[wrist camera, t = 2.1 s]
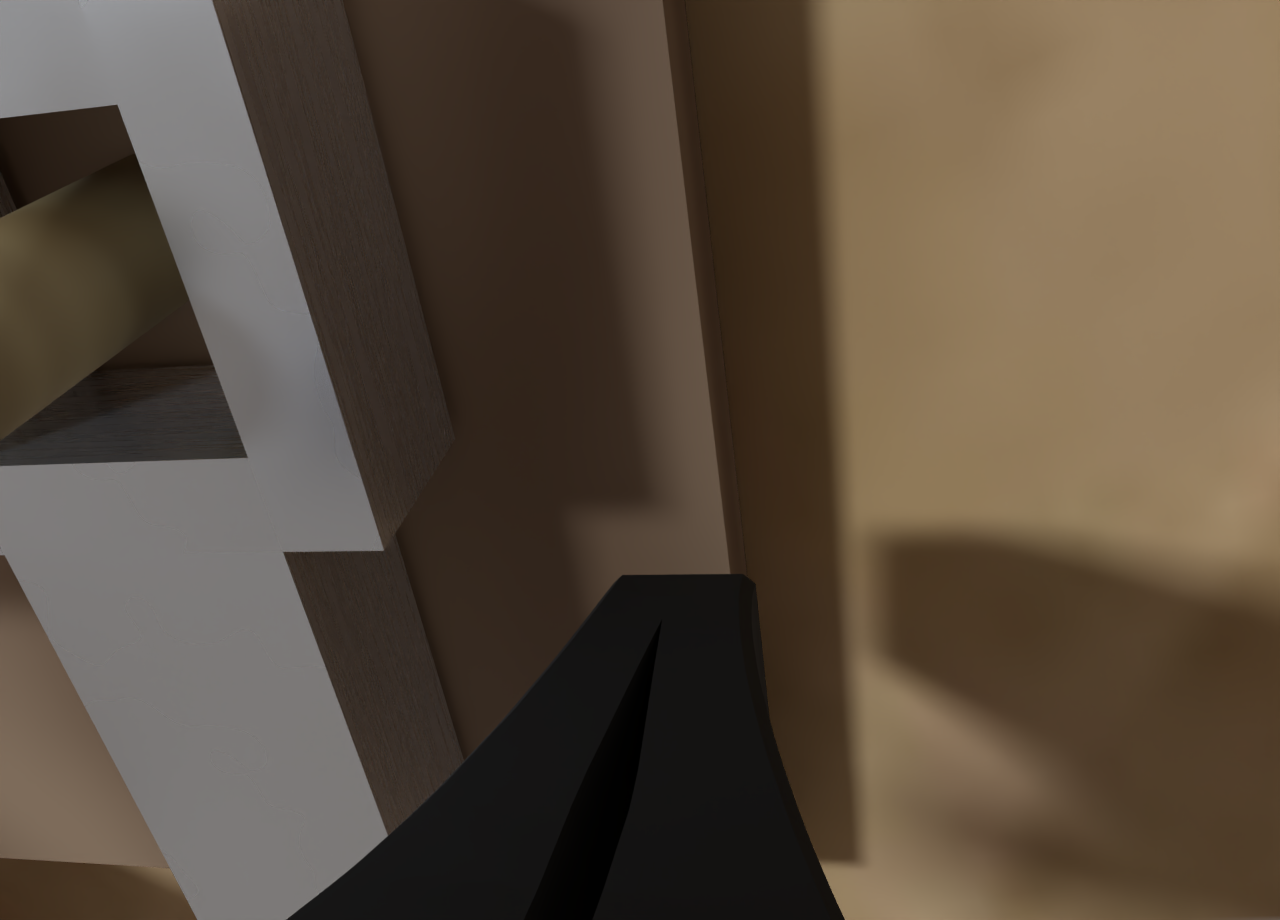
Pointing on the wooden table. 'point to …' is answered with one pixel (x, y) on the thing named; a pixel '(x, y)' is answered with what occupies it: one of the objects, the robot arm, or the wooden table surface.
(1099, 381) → the wooden table surface
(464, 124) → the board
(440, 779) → the link
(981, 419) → the wooden table surface
